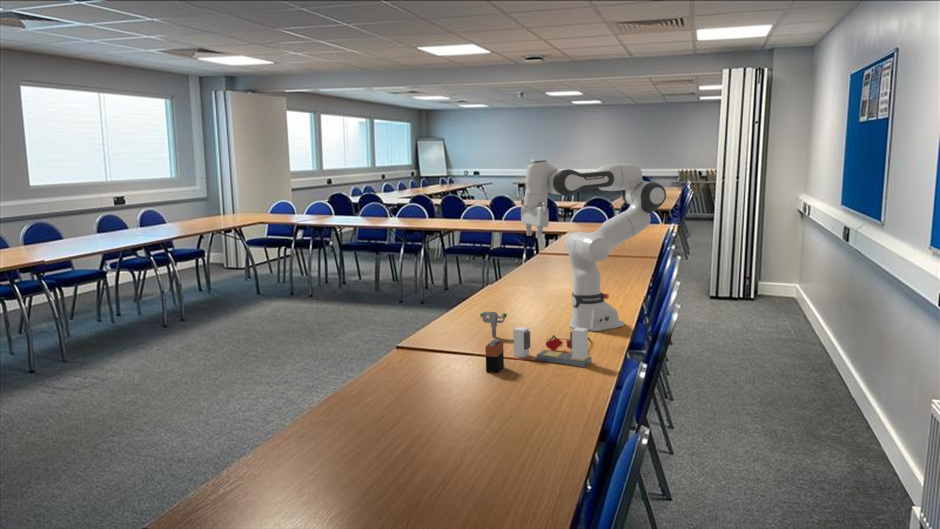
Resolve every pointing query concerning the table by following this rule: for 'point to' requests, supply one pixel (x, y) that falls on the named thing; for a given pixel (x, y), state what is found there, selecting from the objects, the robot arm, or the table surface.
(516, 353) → the block
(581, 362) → the rail
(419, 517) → the table surface
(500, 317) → the mechanical component
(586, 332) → the block
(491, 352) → the battery
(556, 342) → the glasses
